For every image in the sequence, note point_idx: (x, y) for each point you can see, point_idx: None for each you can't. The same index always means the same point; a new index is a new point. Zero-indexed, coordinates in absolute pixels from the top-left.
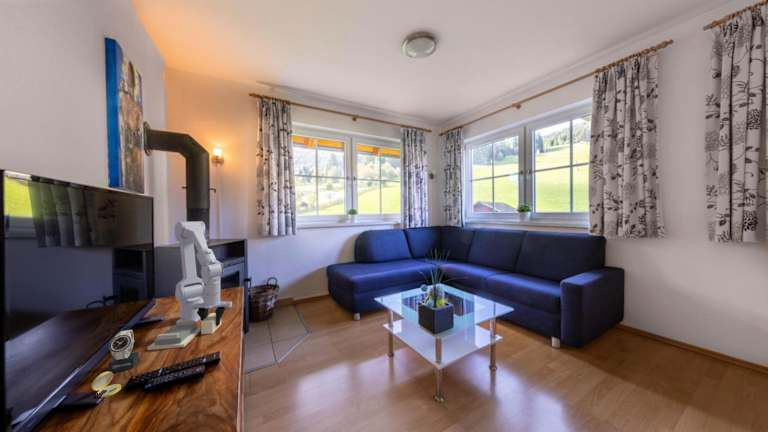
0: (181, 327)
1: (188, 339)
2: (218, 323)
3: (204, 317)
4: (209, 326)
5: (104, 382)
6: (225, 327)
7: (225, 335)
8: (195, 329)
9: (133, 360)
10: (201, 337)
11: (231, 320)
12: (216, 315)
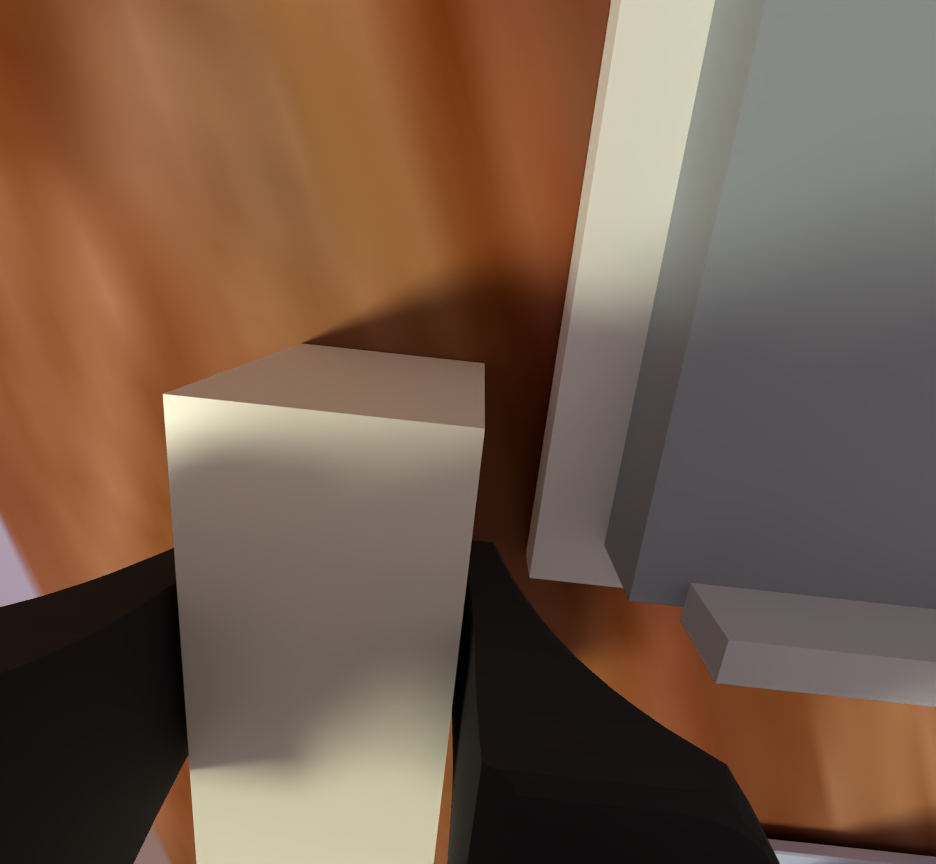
0: (910, 480)
1: (629, 25)
2: None
3: (471, 667)
4: (307, 371)
5: None
6: None
7: (28, 178)
8: (614, 499)
9: None
10: (438, 220)
11: None
12: (80, 624)
